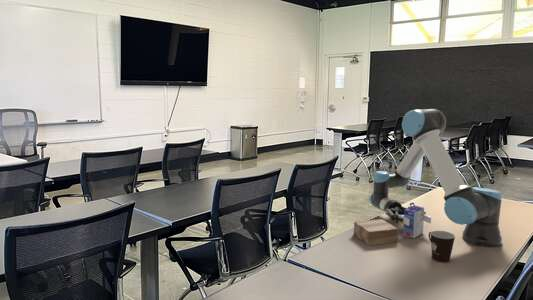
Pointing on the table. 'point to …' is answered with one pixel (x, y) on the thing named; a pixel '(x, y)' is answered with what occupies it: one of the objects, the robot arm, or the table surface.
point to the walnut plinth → (375, 232)
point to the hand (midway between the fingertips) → (419, 221)
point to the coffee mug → (441, 245)
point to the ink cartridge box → (413, 221)
